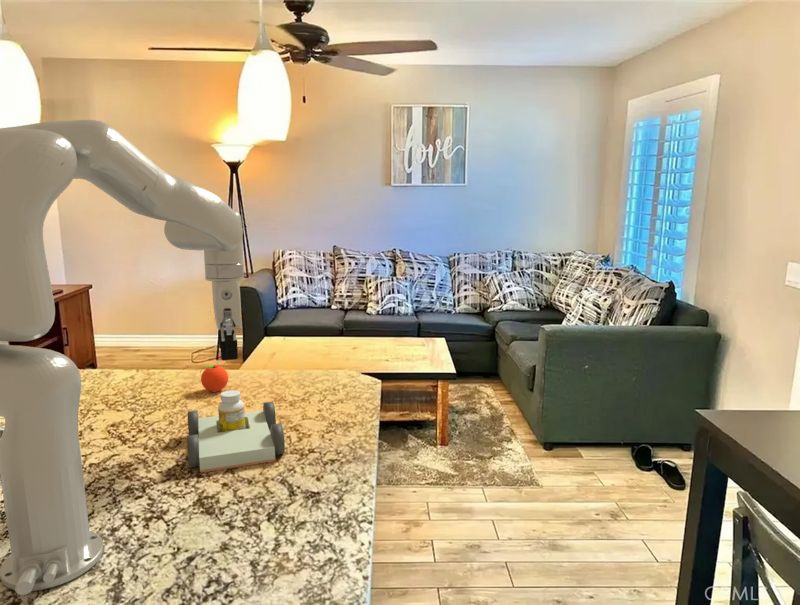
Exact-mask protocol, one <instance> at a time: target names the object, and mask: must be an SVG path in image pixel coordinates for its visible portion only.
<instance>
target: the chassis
mask: <svg viewBox="0 0 800 605" xmlns="http://www.w3.org/2000/svg"><path fill="white" fill-rule="evenodd" d="M262 404H263V405H262V406H263V407H262V408H263V409H262V410H256V411H255V410H254V411H248V412H247V411H246V412H245V429H242V430H235V431H227V432H220V427H219V415H215V416H207V417H199V410H197V409H196V410H187V430H188V435H186V443H187V444H186V448H187V452H186V453H187V462H188V463H187V464H188V468H195V467H199V472H200V473H207V472H213V471H219V470H221V471H222V470H227V469H235V468H239V466H241V467H247V466H253V464H254V465H258V464H259V463H261V464H266V463H265V462H267V463H272V462H271V461H274V462H276V455H283V454H285V452H286V451H285V449H286V446H285V443H286V442H285V433H284V428H283V424H282V423H277V422H276V421H277V418H276V409H275V403H274V401H266V402H263V403H262ZM246 465H247V466H246Z"/></svg>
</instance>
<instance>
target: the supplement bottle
mask: <svg viewBox="0 0 800 605" xmlns="http://www.w3.org/2000/svg"><path fill="white" fill-rule="evenodd" d="M220 400H221V401H220V403H219V404H218V407H217V409H218V410H217V411H218V416H219V427H220V432H227V431H235V430H242V429H245V413H246V411H245V402H243V401H242V400H241V392H240V390H231V389H230V390H226V391H223V392H221V393H220Z"/></svg>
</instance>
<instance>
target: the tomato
mask: <svg viewBox="0 0 800 605" xmlns="http://www.w3.org/2000/svg"><path fill="white" fill-rule="evenodd" d="M204 368H205V369H204ZM203 369H204V371H202V370H203ZM201 372H202V373H201ZM199 373H201V375H200V381H201V385H202V387H203V388H204V389H205V390H207V391H208V392H213V393H217V392H221V391H222V390H223V389H224V388H225V387H226V386H227V385H228V383H229V373H228V371H227V370H226V369H225V368H224V367H222V366H220V365H216V364H215V365H206V366H205V367H202V368H201V370H200V371H199Z"/></svg>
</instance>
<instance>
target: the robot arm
mask: <svg viewBox="0 0 800 605" xmlns="http://www.w3.org/2000/svg"><path fill="white" fill-rule="evenodd" d="M78 179H79V180H84V181H87V182H89V183H91V184H92V185H94V186H95V187H97V188H98V189H99V190H101V191H102V192H104V193H105V194H107V195H108V196H110V197H111V198H113V199H114V200H115V201H117V202H118V203H120V204H121V205H123V207H125V208H126V209H127V210H130V211H131V212H133V213H135V214H138V215H141V216H144V217H148V218H150V219H154V220H159V221H164V222H165V223H164V228H163V232H164V235H165V236H164V237H165V239H167V241H168V242H169V243H170V244H171V246H173V247H175V248H178V249H181V250H185V251H203V254H204V255H203V256H204V257H203V258H204V276H205V278H204V279H205V281H207V282H211V288H212V290H211V292H212V302H213V303H212V304H213V313H214V319H215V323H216V327H217V329H218V331H217V332H218V348H219V349H220V359H221V360H222V361H232V360H238V358H239V354H238V339H237V334H236V333H237V332H236V331H237V330H236V328H238V329H242V328H243V321H242V320H243V319H242V318H243V316H242V305H241V304H242V302H241V287H240V282H239V281H241V280H244V279H245V274H244V272H245V271H244V251H243V245H244V244H243V234H244V230H243V224H242V223H243V222H242V216H241V214H240V213H239V212H238V211H236V210H233V208H231V206H229V205H228V203H227V202H225V201H224V200H223V199H222V198H220V197H219V196H217V195H216V194H214V193H213V192H211V191H209V190H208V189H205V188H204V187H201V186H198V185H196V184H194V183H191V182H190V181H188V180H185V179H183V178H181V177H178V176H176V175H174V174H172V173H169V172H167V171H165V170H164V169H162V168H161V167H159V165H157V164H156V163H155V162H154V161H153V160H151V159H150V157H148V156H147V155H146V154H145V153H144V152H143V151H141V150H140V149H139V148H138V147H137V146H135V145H134V144H133V143H132V142H131V141H130V140H128V139H127V138H126V137H125V136H124V135H123V134H122V133H121V132H119V131H118V130H117V129H115V128H114V127H112V126H111V125H110V124H109V123H106V122H103V121H99V120H97V119H96V120H95V119H94V120H93V119H76V120H75V119H73V120H70V119H69V120H52V121H44V122H37V123H31V124H24V125H17V126H16V125H15V126H10V127H9V126H8V127H1V128H0V417H2V418H3V419H4V428H3V430H2V435H1V437H0V482H1V489H2V497H3V504H4V510H5V517H6V524H7V531H8V539H9V544H10V545H9V546H10V552H11V553H10V554H9V555H8V556H7V557H6V559H4V561H3V562H2V564H1V566H0V581H1V583H2V584H3V585H4V586H5V587H6V588H8V589H10V590H13V591H15V593H16V594H17V595H20V596H25V595H28V594H30V593H31V592H35V591H42V590H46V589H51V588H54V587H57V586H61V585H63V584H66V583H68V582H70V581H72V580H75V579H76V578H78V577H80V576H81V575H83V574H85V573H86V572H88V571H89V570H90V569H91V568H92V567H94V566H95V565H96V564H97V563H98V562H99V560H100V559H101V557H102V555H103V553H104V541H103V539H102V537H101V535H99V534H98V533H96V532H94V531H91V530H90V524H89V515H88V506H87V498H86V497H87V496H86V487H85V481H84V480H85V479H84V478H85V477H84V470H83V468H84V467H83V461H82V453H81V443H80V434H79V409H80V408H79V407H80V400H81V394H82V377H81V372H80V371H79V368H78V366H77V365H76V364H75V362H74V361H73V360H72V359H71V358H69V357H68V356H67V355H65V354H64V353H63V354H62V353H61V352H58V351H55V350H53V349H50V348H49V349H48V348H43V347H35V346H26V345H13V344H12V345H11V344H9V342H30V341H33V340H37V339H39V338H41V337H43V336H45V335H46V334H47V333H48V332H49V331H50V329H52V326H53V324H54V322H55V317H56V306H55V305H56V304H55V299H54V294H53V289H52V282H51V278H50V271H49V266H48V262H47V261H48V260H47V255H46V250H45V249H46V248H45V242H44V225H45V220H46V217H47V215H48V212H49V211H50V209H51V207H52V206H53V204H54V203H55V202H56V200H57V199H58V198H59V197H60V196H61V194H63V192H64V191H65V190H67V188H68V187H69V186H70V184H71V183H72V181H73V180H78Z"/></svg>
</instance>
